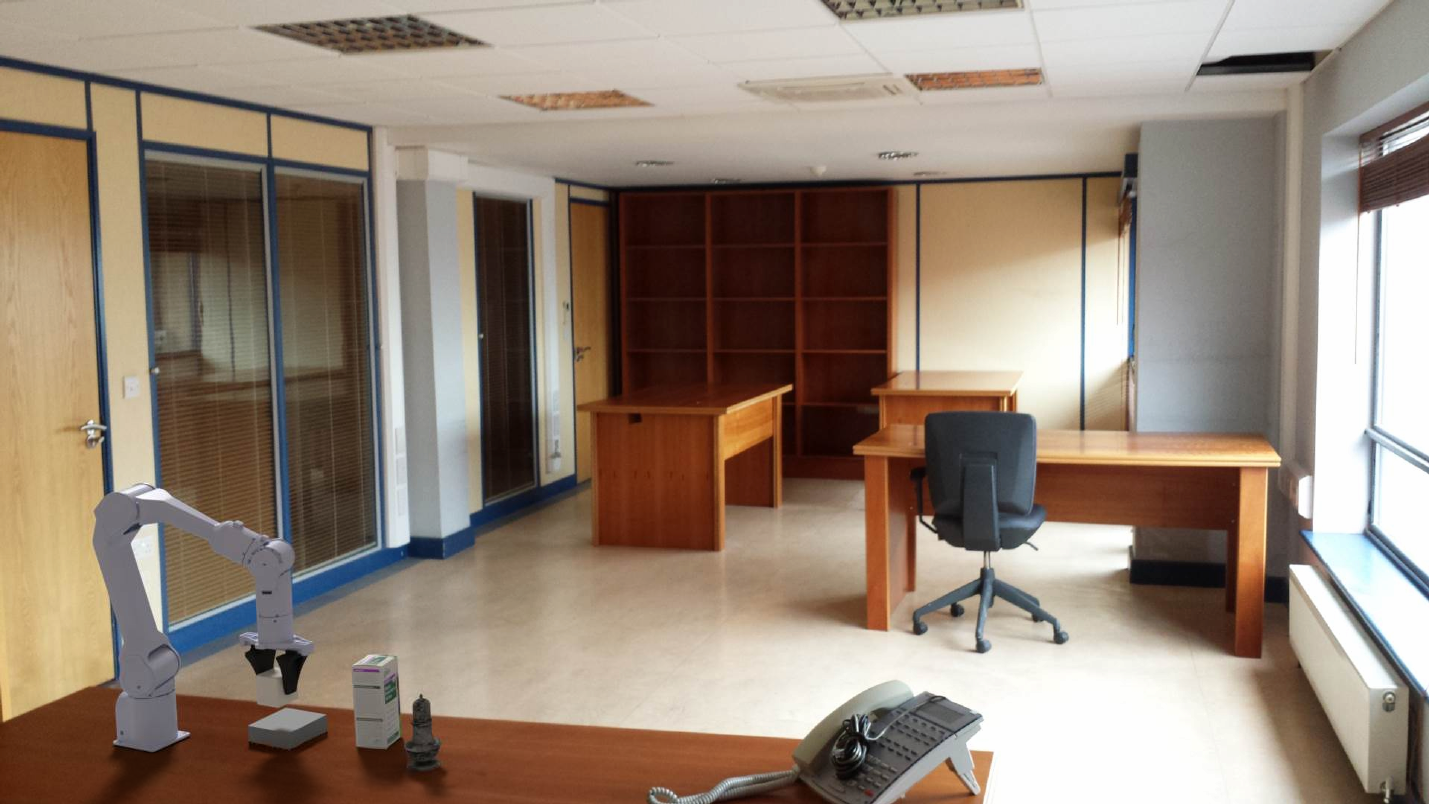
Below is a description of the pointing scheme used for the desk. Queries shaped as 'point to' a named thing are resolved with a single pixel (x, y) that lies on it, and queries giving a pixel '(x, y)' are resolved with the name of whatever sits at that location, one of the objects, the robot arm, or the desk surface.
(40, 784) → the desk surface
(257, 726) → the block
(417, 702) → the salt shaker
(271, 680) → the cream white cube
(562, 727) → the desk surface
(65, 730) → the desk surface
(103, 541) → the robot arm
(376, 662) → the syrup box
